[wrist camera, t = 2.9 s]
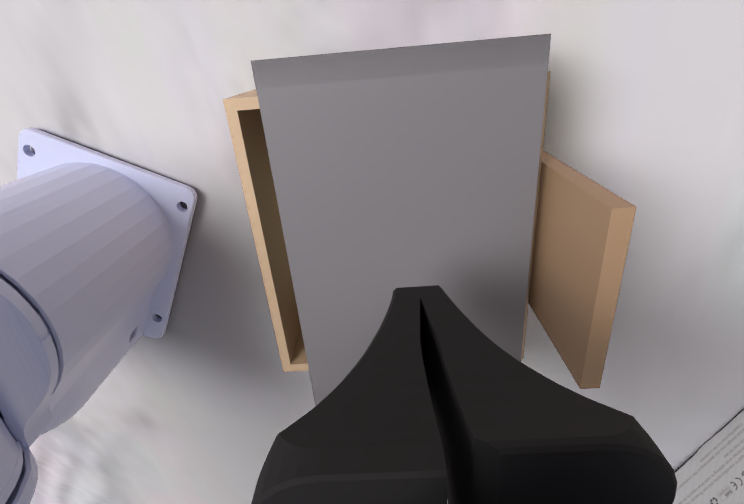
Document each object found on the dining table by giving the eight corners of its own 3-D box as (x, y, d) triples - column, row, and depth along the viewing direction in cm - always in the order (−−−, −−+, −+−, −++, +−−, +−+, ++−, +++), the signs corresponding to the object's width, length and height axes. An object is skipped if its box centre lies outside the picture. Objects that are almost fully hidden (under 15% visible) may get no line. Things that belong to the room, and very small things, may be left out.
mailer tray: (299, 318, 23) (255, 468, 15) (255, 89, 18) (151, 121, 10) (509, 305, 23) (586, 453, 14) (526, 65, 18) (662, 78, 9)
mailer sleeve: (328, 330, 24) (315, 405, 19) (286, 58, 18) (250, 60, 13) (487, 321, 23) (517, 395, 18) (500, 38, 17) (551, 33, 12)
